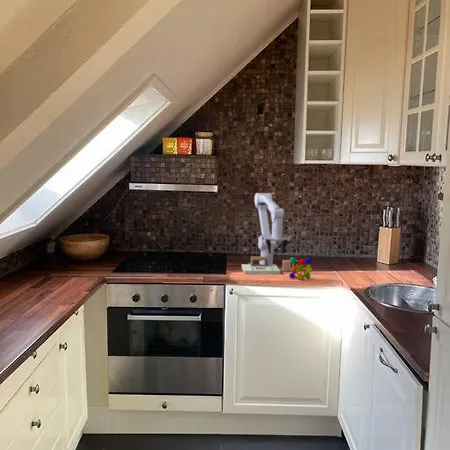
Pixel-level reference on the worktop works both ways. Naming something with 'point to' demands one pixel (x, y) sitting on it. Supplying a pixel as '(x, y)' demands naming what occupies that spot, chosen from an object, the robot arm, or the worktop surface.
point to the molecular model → (300, 268)
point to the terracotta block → (286, 265)
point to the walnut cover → (259, 259)
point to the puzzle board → (260, 269)
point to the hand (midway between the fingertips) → (276, 253)
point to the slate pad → (284, 271)
